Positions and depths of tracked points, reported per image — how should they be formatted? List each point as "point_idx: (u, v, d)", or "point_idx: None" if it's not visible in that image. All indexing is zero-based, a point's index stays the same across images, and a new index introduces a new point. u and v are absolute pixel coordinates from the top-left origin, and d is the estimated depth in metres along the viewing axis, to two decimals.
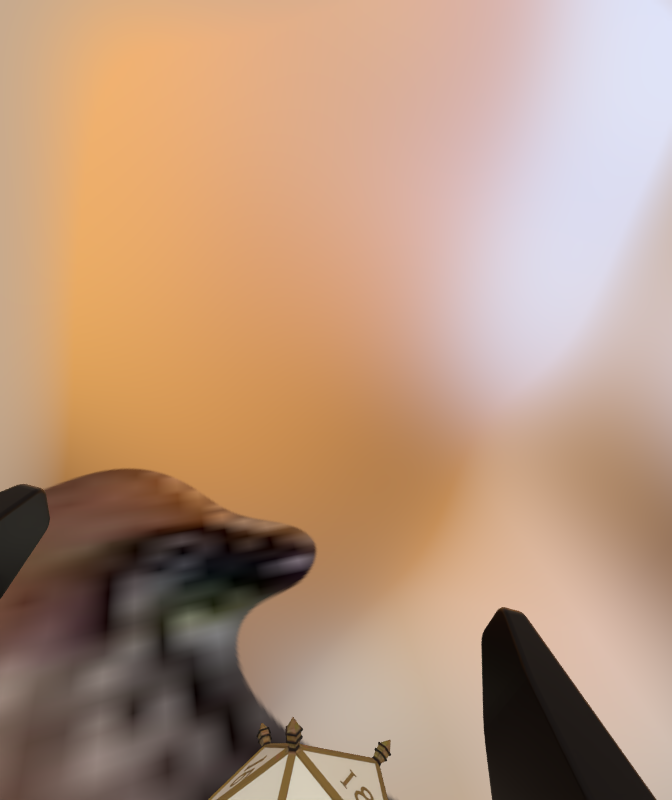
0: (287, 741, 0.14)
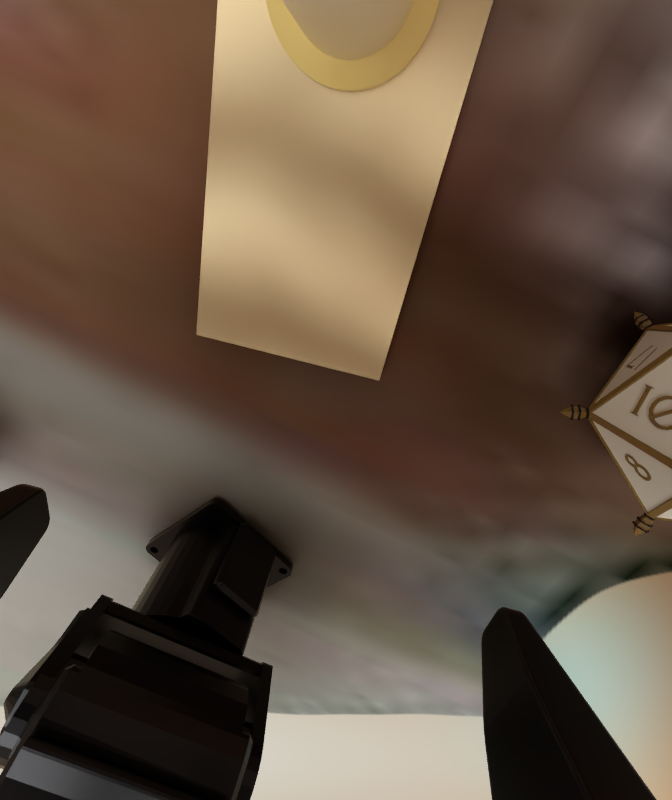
0: None
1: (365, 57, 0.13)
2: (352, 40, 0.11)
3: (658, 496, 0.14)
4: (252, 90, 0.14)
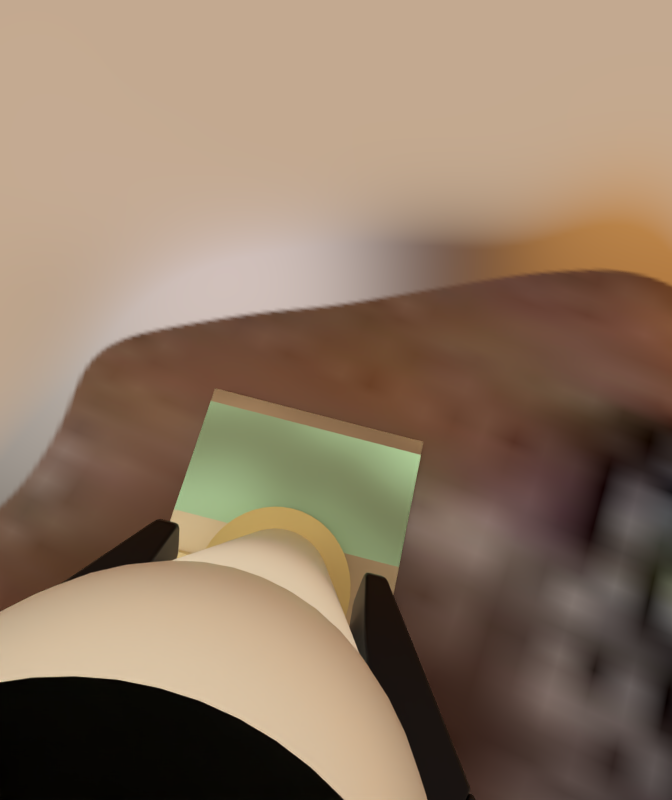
0: None
1: None
2: None
3: None
4: None
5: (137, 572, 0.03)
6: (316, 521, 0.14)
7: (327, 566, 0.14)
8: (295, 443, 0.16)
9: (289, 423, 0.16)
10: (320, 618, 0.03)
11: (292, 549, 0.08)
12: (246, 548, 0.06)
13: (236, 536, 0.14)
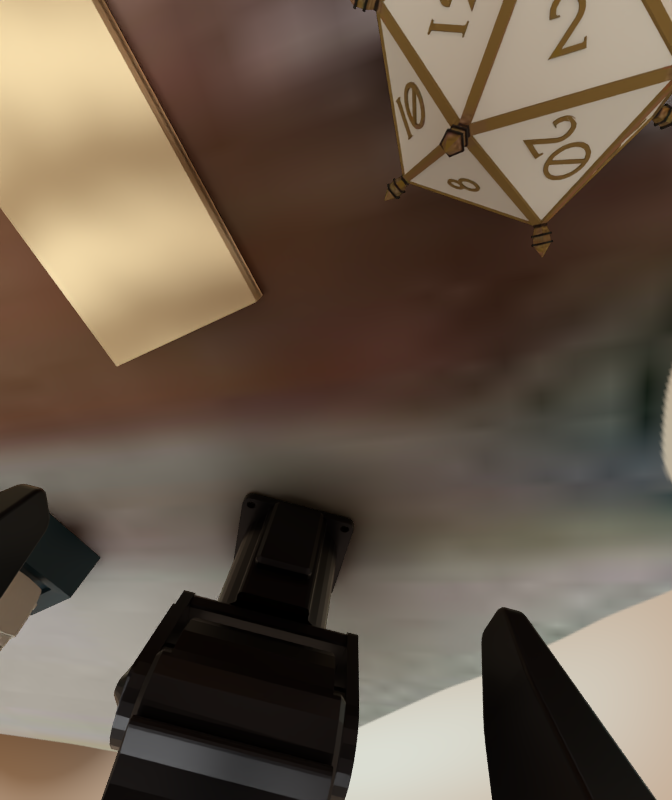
0: None
1: None
2: None
3: (501, 194, 0.12)
4: (0, 161, 0.17)
5: None
6: None
7: None
8: None
9: None
10: None
11: None
12: None
13: None
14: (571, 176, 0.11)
